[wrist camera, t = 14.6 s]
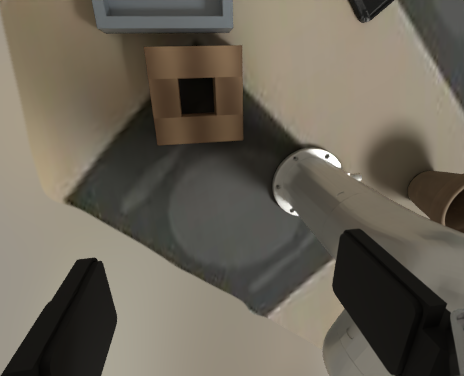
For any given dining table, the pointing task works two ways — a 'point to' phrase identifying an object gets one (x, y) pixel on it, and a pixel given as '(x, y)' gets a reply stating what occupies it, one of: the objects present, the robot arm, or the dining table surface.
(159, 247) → the dining table surface
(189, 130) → the pin block
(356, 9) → the phone
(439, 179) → the flower pot
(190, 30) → the tray
